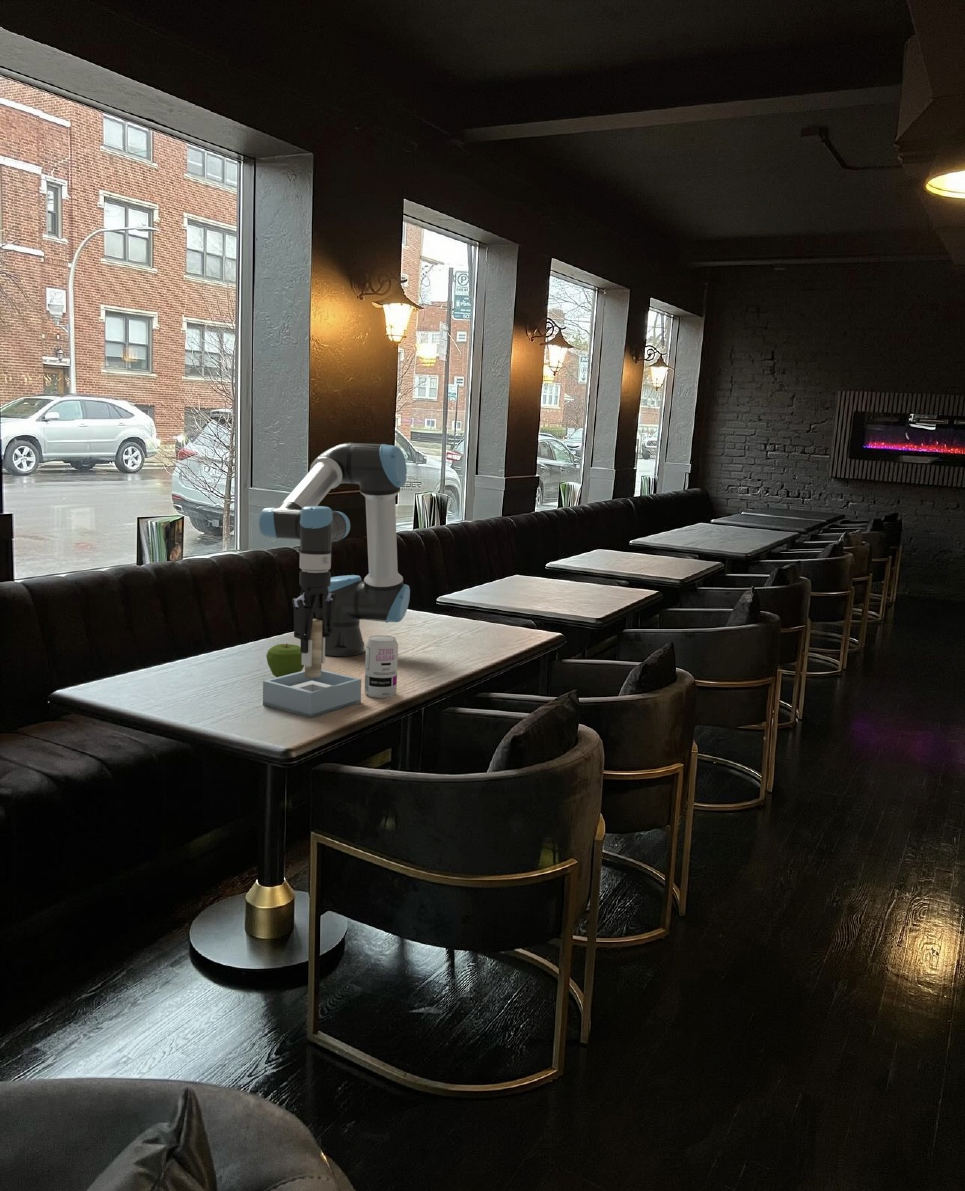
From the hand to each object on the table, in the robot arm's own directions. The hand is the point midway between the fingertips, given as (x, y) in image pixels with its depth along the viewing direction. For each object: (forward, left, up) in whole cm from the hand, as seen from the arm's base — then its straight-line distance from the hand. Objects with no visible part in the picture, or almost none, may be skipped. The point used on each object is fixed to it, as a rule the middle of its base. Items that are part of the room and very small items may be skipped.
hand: (313, 663), depth 238 cm
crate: (0, 0, -10) cm, 10 cm away
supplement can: (+7, +18, -10) cm, 22 cm away
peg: (0, 0, -3) cm, 3 cm away
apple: (-21, +12, -10) cm, 26 cm away
